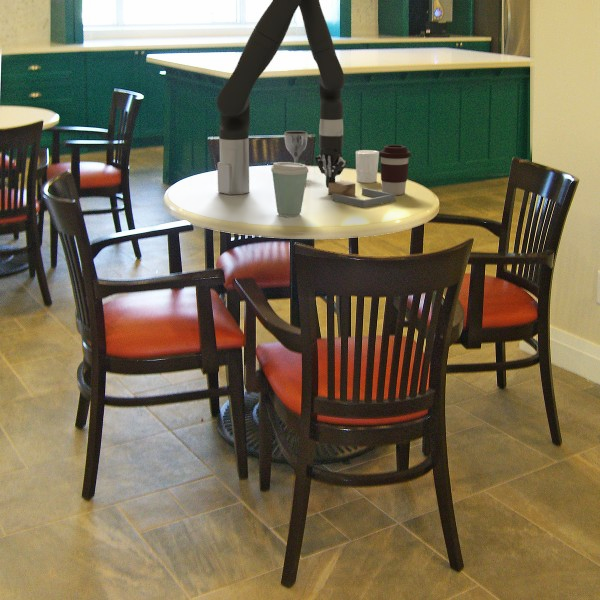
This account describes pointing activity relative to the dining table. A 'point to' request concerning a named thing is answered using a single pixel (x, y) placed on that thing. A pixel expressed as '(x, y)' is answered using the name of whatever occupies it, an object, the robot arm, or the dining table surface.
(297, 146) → the wine glass
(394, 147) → the coffee cup
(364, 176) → the white cup
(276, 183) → the disposable coffee cup
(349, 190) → the walnut block
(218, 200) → the dining table surface
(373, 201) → the grey corral
